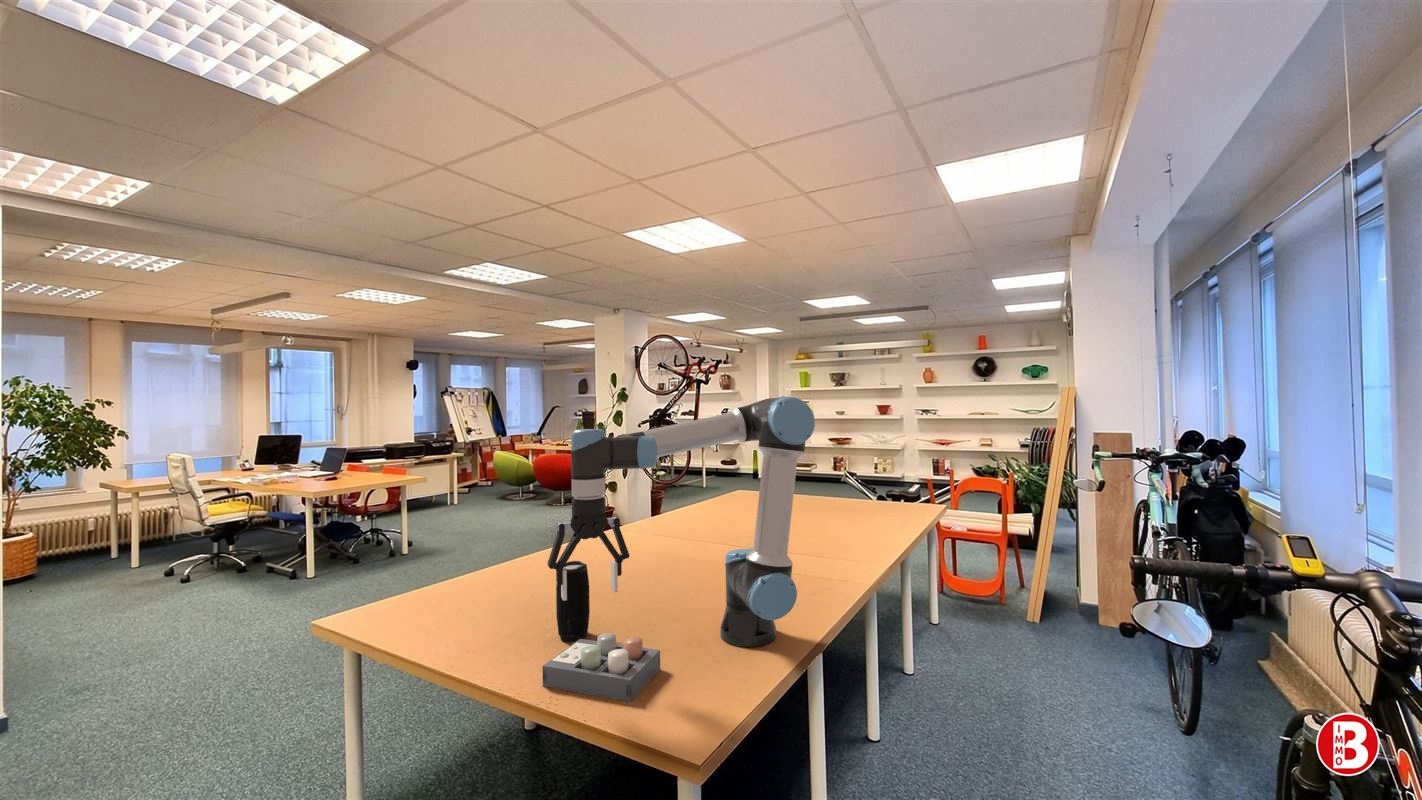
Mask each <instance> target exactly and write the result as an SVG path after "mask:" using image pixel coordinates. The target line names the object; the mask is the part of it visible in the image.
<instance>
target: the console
mask: <svg viewBox="0 0 1422 800" xmlns="http://www.w3.org/2000/svg"><path fill="white" fill-rule="evenodd" d="M590 645H596V646H597V640H591V639H585V638H584V639H583V638H578V639H577V641H574V643H572V644H570V645H569V646H568V647H567V648H565V649H564V650H563V651H561V652H560V653H558V654H557V655H555V656H554V657H553V658H551V659H550V660H549V661H547V662H545V664H542V687H544V688H545V687H547V688H552V689H557V690H563V691H569V692H574V693H578V694H580V693H581V694H586V695H590V696H596V697H601V698H608V699H613V700H619V701H623V702H629V703H630V702H632V701H633V699H634V698H635V697H636V696H637V695H638V694H639V693H640V692H641V690H643V688H645V687H646V686H647V684H648V683H649V682H650V681H651V680H652V678H653V677H655V675H656V674H657V673H658V672H659V671H660V670H661V649H655V648H648V647H643V657H642V658H641V659H640V660H639V661H634V660H628V670H629V671H628V672H627V673H625V674H624V675H617V674H610V673H608V657H607V656H601V666H600V667H599V668H598V669H597V670H596V671H592V670H585V669H581V649H582V648H584V647H586V646H590ZM616 649H624V644H619V643H616Z"/></svg>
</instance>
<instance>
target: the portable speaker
mask: <svg viewBox="0 0 1422 800" xmlns="http://www.w3.org/2000/svg"><path fill="white" fill-rule="evenodd" d="M587 566H588V565H587V564H586V563H584V562H582V561H580V560H572V561H571V560H570V561H567V563H566V564H565V566H564V568H565V569H566V570H567V600H565V601H563V599H562V598H561V585H558V584H557V583H556V587H555V590H556V595H555V596H556V597H555V598H556V599H555V603H556V604H555V605H556V609H555V610H556V613H555V614H556V621H557V622H556V623H557V624H556V625H557V633H558V636H559V637H560V638H561V641H563V642H564V643H565V642H568V643H569V642H571V643H572V642H576V641H578V640H579V639H580V637H583V636H585V637H587V636H588V633H589V631H588V630H589V622H590V609H591V608H590V580H589V572H588V567H587Z"/></svg>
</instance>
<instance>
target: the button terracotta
mask: <svg viewBox="0 0 1422 800" xmlns="http://www.w3.org/2000/svg"><path fill="white" fill-rule="evenodd" d="M622 642H623V644H622V645H624V650H627V651H628V660H634V661H639V660H640V659H641V658H642V657H643V648H644V647H643V638H642V637H640V636H629V637H626V638H625V639H624V640H623V641H622Z"/></svg>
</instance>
